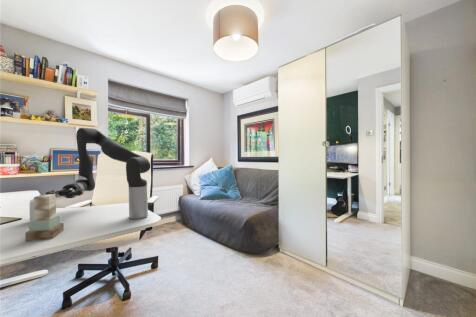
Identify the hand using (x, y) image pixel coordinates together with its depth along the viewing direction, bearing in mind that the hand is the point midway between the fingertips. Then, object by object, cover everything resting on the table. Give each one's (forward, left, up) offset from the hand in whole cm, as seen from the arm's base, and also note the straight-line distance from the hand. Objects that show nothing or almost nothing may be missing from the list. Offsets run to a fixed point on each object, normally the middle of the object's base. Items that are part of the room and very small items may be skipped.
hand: (58, 196), depth 98 cm
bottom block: (+1, +10, -15) cm, 19 cm away
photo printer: (+13, -15, -15) cm, 25 cm away
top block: (+1, +10, -11) cm, 16 cm away
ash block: (0, +10, -7) cm, 13 cm away
